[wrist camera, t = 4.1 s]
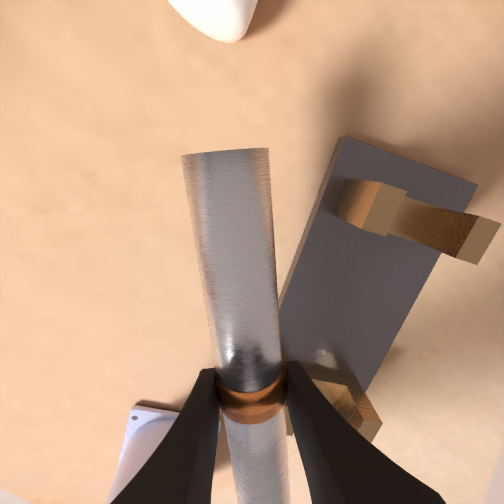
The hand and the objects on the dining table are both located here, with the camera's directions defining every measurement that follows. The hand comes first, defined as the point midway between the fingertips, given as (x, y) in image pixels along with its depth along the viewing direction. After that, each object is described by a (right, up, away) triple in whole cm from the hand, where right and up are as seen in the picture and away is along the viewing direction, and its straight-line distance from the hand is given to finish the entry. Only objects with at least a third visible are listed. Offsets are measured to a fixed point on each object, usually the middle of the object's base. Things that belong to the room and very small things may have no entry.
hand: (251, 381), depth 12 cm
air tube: (0, +1, +1) cm, 2 cm away
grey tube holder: (+7, +2, +9) cm, 12 cm away
